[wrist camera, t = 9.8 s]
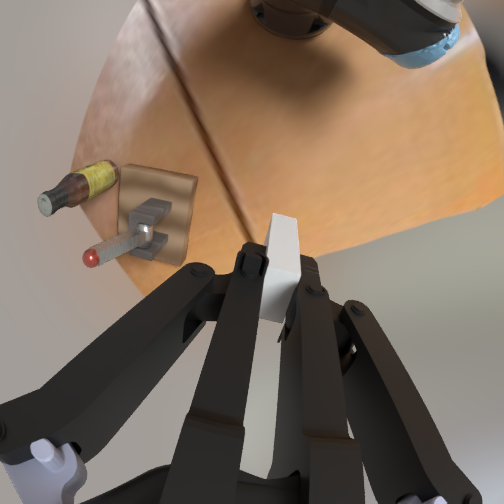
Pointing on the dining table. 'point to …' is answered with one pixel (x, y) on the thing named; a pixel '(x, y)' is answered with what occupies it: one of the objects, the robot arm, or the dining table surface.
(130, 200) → the base
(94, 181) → the sauce bottle
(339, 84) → the dining table surface
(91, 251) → the lever
